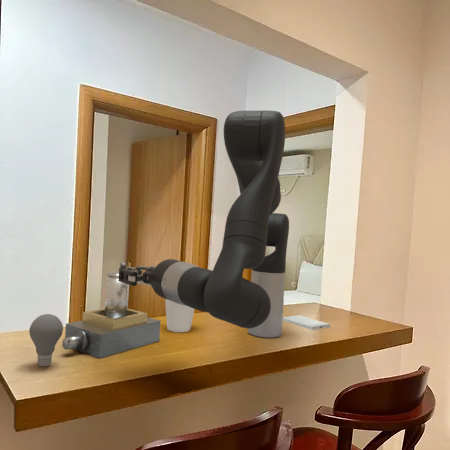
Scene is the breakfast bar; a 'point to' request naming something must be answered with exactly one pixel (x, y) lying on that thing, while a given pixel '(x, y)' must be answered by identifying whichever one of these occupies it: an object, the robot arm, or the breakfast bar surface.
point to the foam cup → (178, 316)
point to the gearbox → (110, 333)
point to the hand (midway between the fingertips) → (140, 269)
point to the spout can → (116, 296)
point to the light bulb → (45, 337)
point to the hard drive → (306, 322)
